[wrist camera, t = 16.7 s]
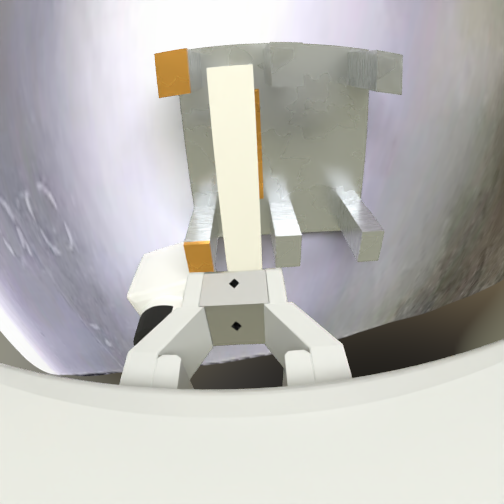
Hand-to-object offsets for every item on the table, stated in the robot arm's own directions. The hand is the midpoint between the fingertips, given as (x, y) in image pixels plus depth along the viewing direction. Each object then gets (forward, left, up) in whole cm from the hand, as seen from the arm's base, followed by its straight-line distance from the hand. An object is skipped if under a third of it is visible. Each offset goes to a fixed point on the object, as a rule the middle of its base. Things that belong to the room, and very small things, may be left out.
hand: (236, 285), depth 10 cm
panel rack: (-3, 0, -19) cm, 19 cm away
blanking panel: (0, 0, -18) cm, 18 cm away
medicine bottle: (+7, +14, -19) cm, 25 cm away
